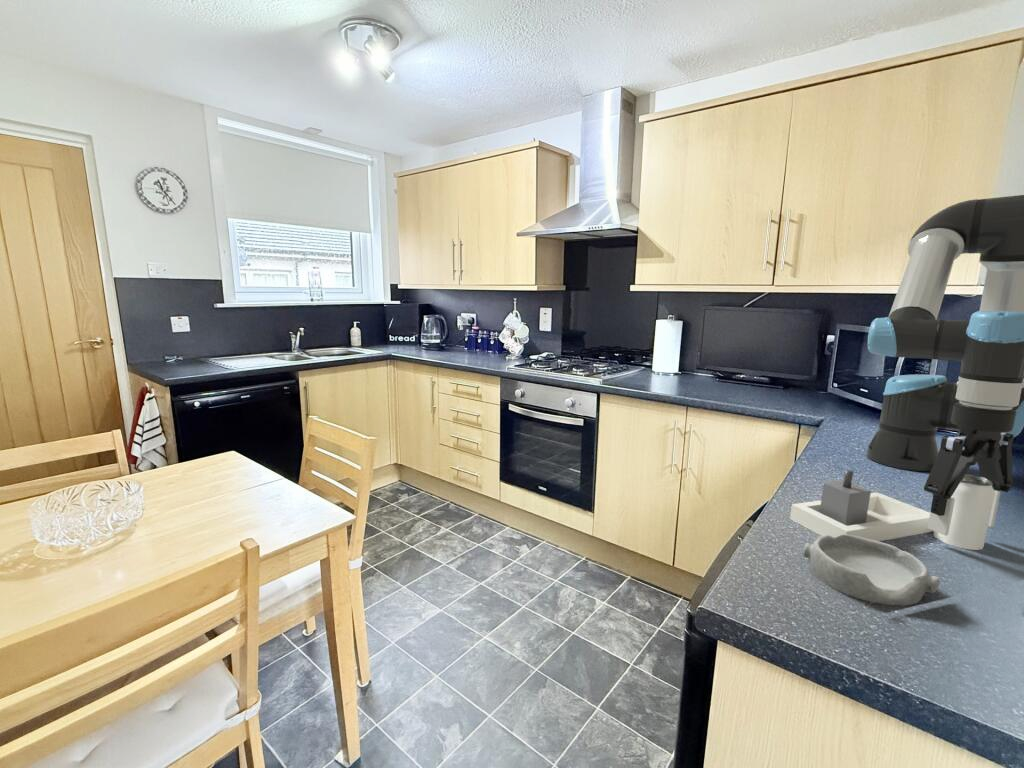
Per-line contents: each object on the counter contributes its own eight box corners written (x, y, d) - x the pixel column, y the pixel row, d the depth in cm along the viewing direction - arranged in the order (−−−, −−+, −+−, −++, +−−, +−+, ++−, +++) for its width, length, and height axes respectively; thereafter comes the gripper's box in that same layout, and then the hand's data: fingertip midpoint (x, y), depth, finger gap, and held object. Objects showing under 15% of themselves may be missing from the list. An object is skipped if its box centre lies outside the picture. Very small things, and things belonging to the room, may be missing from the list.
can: (993, 555, 80) (1007, 487, 78) (948, 550, 81) (961, 484, 79) (965, 536, 86) (978, 473, 84) (924, 532, 87) (935, 470, 85)
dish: (948, 606, 67) (954, 574, 66) (866, 619, 64) (872, 586, 63) (854, 553, 80) (859, 525, 80) (784, 561, 78) (788, 533, 77)
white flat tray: (874, 508, 97) (877, 492, 97) (935, 533, 87) (938, 515, 86) (789, 521, 91) (791, 504, 91) (843, 550, 81) (846, 531, 80)
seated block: (838, 520, 91) (846, 465, 89) (864, 532, 86) (873, 474, 84) (818, 523, 89) (825, 467, 87) (843, 536, 84) (852, 477, 82)
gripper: (1002, 396, 86) (979, 510, 90) (910, 403, 79) (889, 525, 83) (1059, 405, 79) (1031, 529, 83) (963, 413, 72) (938, 547, 76)
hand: (960, 527), depth 83 cm, fingers open, 11 cm apart
